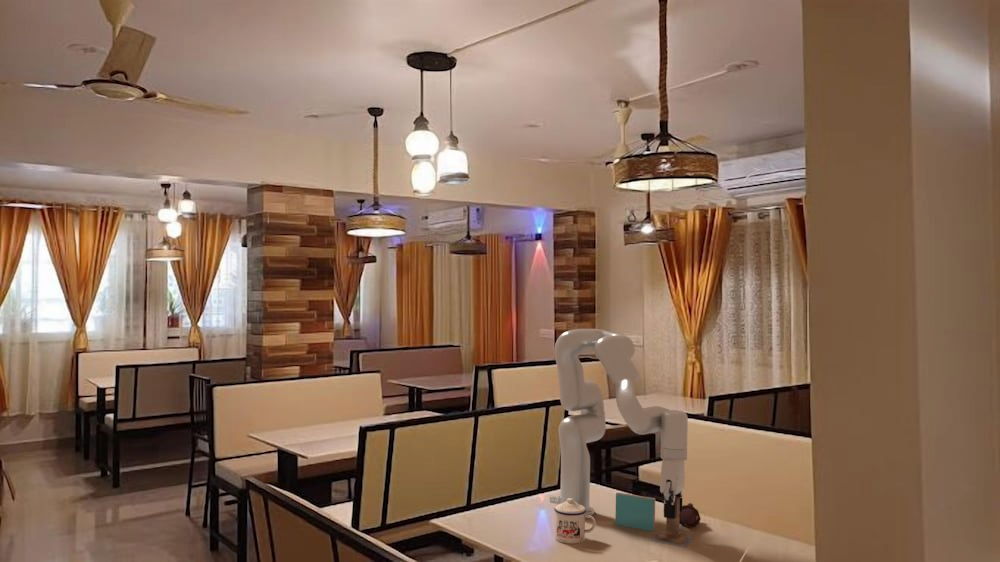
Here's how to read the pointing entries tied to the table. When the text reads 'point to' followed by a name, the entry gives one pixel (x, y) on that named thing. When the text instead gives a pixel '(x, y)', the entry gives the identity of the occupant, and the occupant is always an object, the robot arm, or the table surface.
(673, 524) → the wooden post with base
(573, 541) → the teacup with lid
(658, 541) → the mat
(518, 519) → the table surface
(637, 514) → the tile
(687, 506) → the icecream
